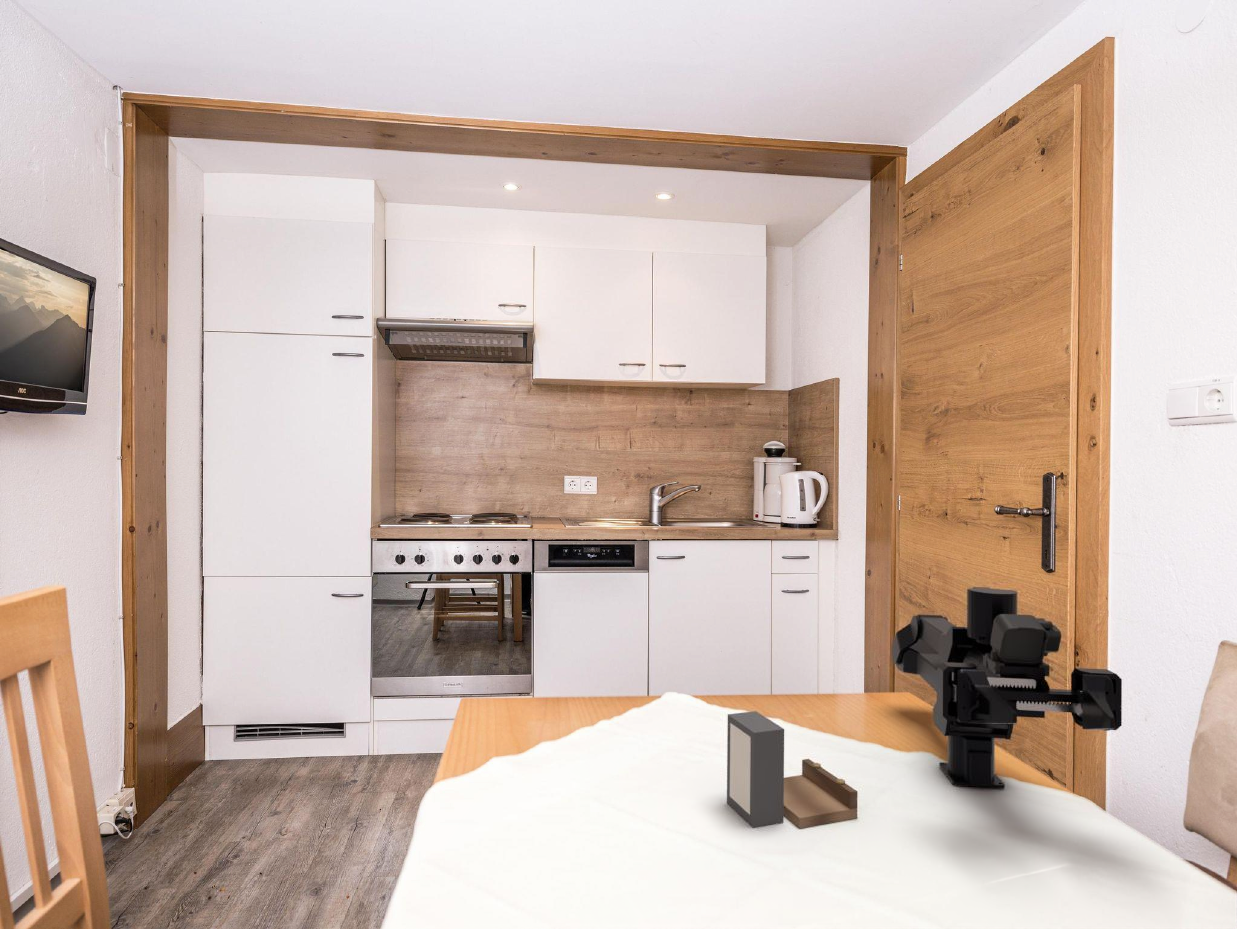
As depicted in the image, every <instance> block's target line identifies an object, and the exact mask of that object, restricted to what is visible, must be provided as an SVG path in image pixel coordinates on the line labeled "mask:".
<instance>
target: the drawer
mask: <svg viewBox="0 0 1237 929" xmlns="http://www.w3.org/2000/svg"><path fill="white" fill-rule="evenodd" d="M801 761H802V762H801V774H799V775H794V776H793V775H792V776H787V777H786V776H784V815H783V817H785V818H786V819H788V820H789V821H790V822H791V823H792V824H793V825H795V826H796V827H797V828H798V829H805V828H810V827H816V826H817V827H818V826H822V825H828V824H833V823H838V822H844V821H850V820H855V819H858V790H856V789H855V788H853V787H852V786H850V785H849V784H848V783H846V780H845V779H843V778H838V777H837V776H835V775H834V774H832V773H831V772H829V771H828V770H826V769H825V768H823V767H822V765H821V763H818V762H814V761H813V760H811V759H809V758H806V759H805V758H804V759H801Z"/></svg>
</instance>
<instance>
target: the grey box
mask: <svg viewBox="0 0 1237 929" xmlns="http://www.w3.org/2000/svg"><path fill="white" fill-rule="evenodd" d="M726 741H727V744H726V745H727V746H726V748H727V751H726V753H727V756H726V757H727V758H726V768H727V769H726V804H727V805H728V806H729V807H730V808H731V809H732V810H733V811H734V812H735V813H736V814H738V815H739V816H740V817H741V818H742V819H743V820H744V821H745V822H746V823H747V824H748V825H749V826H751V827H752V829H755V828H757V829H758V828H763V827H767V826H774V825H779V824H784V778H785V728H784V727H782V726H780V725H778V724H777V723H776V722H774V721H772V720H771V719H769V718H768V717H767V716H764V715H763V714H762V713H760V712H758V711H756V710H754V711H745V712H738V713H737V712H735V713H729V714H727V740H726Z"/></svg>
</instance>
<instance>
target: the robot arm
mask: <svg viewBox="0 0 1237 929" xmlns="http://www.w3.org/2000/svg"><path fill="white" fill-rule="evenodd" d="M892 641H893V642H892V644H891V649H890V652H891V661H892V663H893V664H894V665H895V666H896V668H897V670H898V671H899V672H902V673H905V674H910V675H917V676H920V678H922V679H923V681H925V682H926V683H927V684H928V685H929V686H930V687H931V688H932V689H933V690H934V691H935V692H936V700H935V704H934V706H933V708H932V716H933V724H934V726H935V728H937V729H938V730H939V732H940V733H941V734H942V735H943V736H944V737H947V762H941V761H940V762H938V763H939V764H938V766H940V767H939V768H940V769H941V771H942V772H943V773H944V775H945V776H946V775H947V776H946V777H947V779H949V781H950V780H951V781H952V782H951V781H950V782H951V784H953V785H954V784H956V785H955V786H961V787H962V786H963V787H975V788H977V787H979V788H993V789H994V788H995V789H996V788H997V789H1005V786H1006V784H1005V783H1004V782H1003V781H1002V779H1001V778H1000V777H998V775H997V774H996V773H995V769H996V768H995V767H996V766H995V765H996V764H995V761H996V760H995V757H996V756H995V754H996V753H995V750H996V749H995V747H996V744H995V742H996V739H1001V740H1002V739H1003V740H1004V739H1005V740H1006V741H1007V740H1008V741H1009V740H1011V739H1012V738H1011V737H1012V734H1013V729H1014V725H1015V724H1017V722H1018V717H1019V718H1036V719H1039V718H1041V719H1045V716H1046V714H1045V713H1046V712H1052V713H1053V712H1054V713H1056V712H1058V713H1071V716H1072V718H1073V721H1074V723H1075V724H1076V725H1077V726H1079V727H1082V730H1085V731H1086V730H1091V731H1107V732H1108V731H1117V730H1118V729H1119V728H1121V727H1122V725H1123V724H1122V720H1123V719H1122V718H1123V716H1122V712H1123V711H1122V710H1123V709H1122V708H1123V707H1122V704H1123V703H1122V702H1123V701H1122V698H1123V696H1122V694H1123V692H1122V689H1123V688H1122V685H1123V684H1122V681H1123V679H1122V678H1121V677H1120V676H1119V675H1118V674H1117V673H1115V672H1113V671H1111V670H1109V669H1106V668H1105V669H1104V668H1103V669H1102V668H1087V667H1086V668H1084V667H1075V668H1074V669H1073V671H1072V672H1071V673H1070V689H1057V688H1050V684H1049V683H1048V681H1047V680H1046V677H1050V664H1048V663H1046V662H1044V658H1045V657H1047V656H1048V654H1050V653H1058V652H1059V651H1060V646H1061V641H1062V632H1061V630H1060V629H1059V628H1058V626H1056V625H1055V624H1054V623H1053V622H1052V621H1051V620H1046V619H1045V618H1042V617H1041V618H1040V617H1036V616H1034V615H1031V614H1018V591H1016V590H1014V589H999V588H991V587H989V586H988V587H986V586H973V587H972V588H967V589H966V626H957V625H956V624H954V623H952V622H951V621H949V619H948V618H947V616H943V615H942V614H921V613H918V614H916V615H912V618H911V620H910V623H909V624H907V625H905V626H904V627H903V628H901V629H900V630H898V631H896V632H895V635H894V639H893V640H892Z"/></svg>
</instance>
